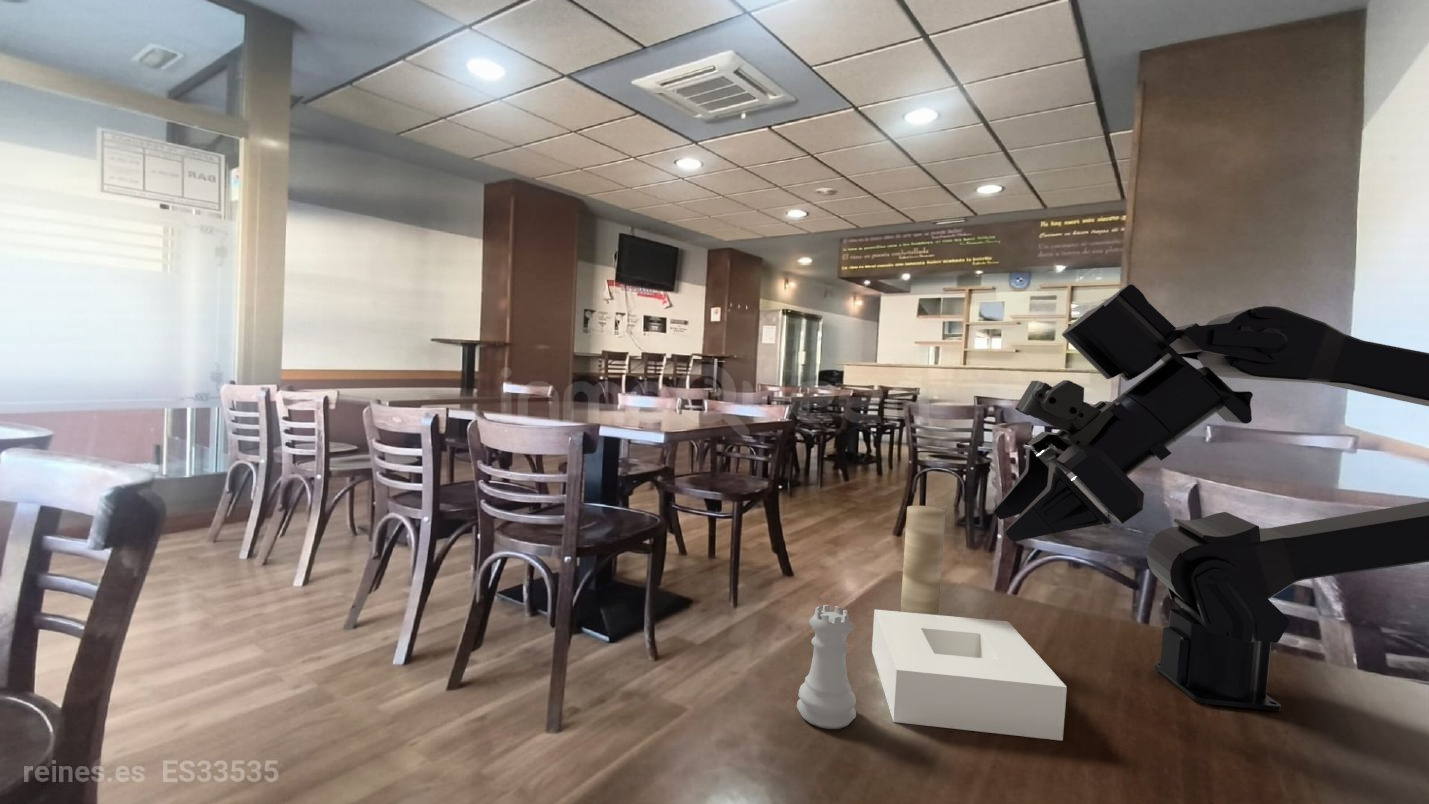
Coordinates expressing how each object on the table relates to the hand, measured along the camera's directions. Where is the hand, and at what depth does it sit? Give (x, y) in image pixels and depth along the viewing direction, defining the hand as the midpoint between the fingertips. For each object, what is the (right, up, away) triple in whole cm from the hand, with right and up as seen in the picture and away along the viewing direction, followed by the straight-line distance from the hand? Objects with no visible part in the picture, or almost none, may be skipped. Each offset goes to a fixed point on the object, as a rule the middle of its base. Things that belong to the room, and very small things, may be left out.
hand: (1001, 525), depth 59 cm
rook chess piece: (-19, -12, -12) cm, 25 cm away
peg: (-7, -12, +3) cm, 14 cm away
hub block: (-7, -12, -7) cm, 16 cm away
